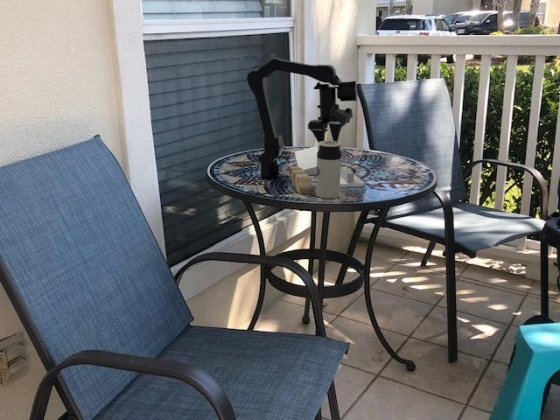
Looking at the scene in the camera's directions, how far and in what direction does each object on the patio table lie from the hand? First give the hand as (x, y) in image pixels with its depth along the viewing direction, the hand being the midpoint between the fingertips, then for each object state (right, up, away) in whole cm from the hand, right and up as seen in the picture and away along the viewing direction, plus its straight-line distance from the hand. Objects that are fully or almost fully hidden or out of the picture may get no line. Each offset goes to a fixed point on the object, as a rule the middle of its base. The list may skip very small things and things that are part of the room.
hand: (329, 145), depth 205 cm
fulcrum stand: (+6, -13, +3) cm, 15 cm away
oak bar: (-11, -15, -2) cm, 19 cm away
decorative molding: (-6, -5, +29) cm, 30 cm away
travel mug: (-2, -19, -13) cm, 23 cm away
